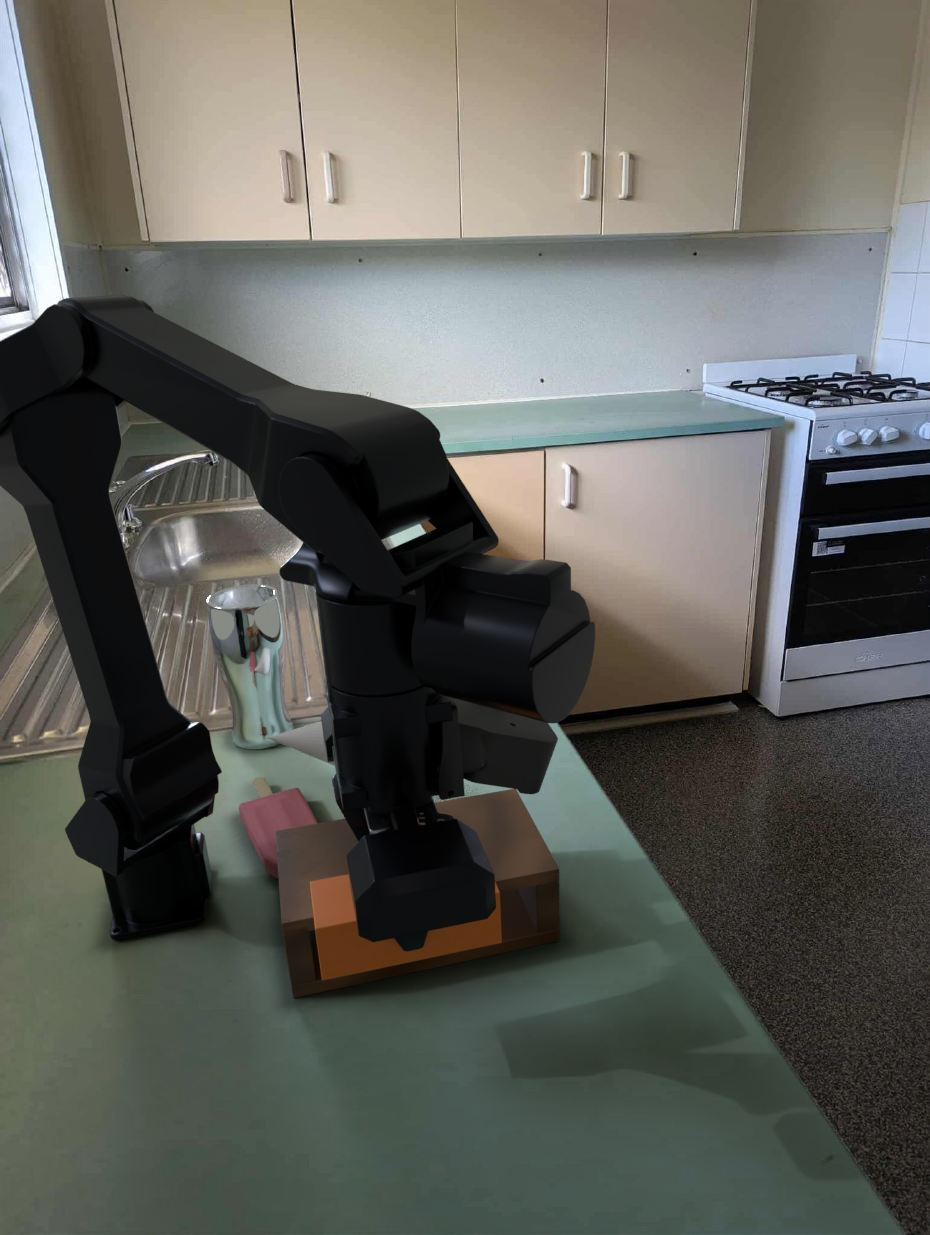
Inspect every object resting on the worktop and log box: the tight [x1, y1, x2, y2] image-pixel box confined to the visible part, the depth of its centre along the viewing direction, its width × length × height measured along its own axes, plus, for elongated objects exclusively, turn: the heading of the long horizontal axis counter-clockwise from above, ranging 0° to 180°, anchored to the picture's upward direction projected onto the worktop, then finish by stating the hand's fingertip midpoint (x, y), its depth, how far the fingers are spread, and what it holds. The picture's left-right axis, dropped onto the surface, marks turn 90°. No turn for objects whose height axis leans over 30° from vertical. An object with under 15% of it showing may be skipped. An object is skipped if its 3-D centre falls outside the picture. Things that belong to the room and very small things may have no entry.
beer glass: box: [206, 583, 295, 750], centre depth 86 cm, size 7×7×15 cm
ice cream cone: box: [267, 720, 335, 767], centre depth 80 cm, size 6×6×15 cm
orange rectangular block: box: [310, 874, 502, 980], centre depth 49 cm, size 10×4×4 cm, turn 103°
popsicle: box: [238, 776, 319, 880], centre depth 73 cm, size 5×2×15 cm
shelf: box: [275, 788, 561, 999], centre depth 61 cm, size 18×10×6 cm, turn 104°
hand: (406, 922), depth 49 cm, fingers closed on orange rectangular block, 4 cm apart
